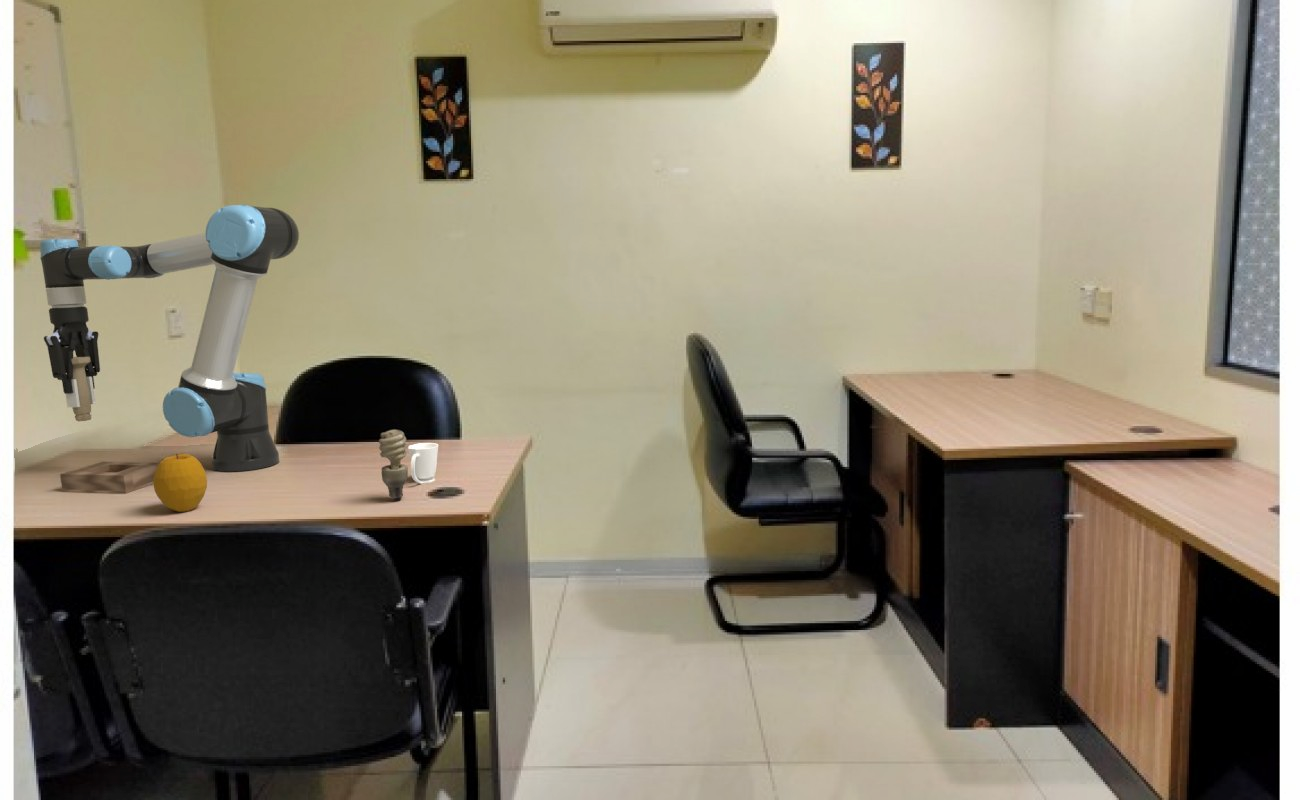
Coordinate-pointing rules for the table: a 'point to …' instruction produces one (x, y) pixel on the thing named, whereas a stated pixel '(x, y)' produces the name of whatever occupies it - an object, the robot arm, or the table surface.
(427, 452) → the cup
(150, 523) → the table surface
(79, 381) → the handle
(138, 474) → the slot block
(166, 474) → the apple
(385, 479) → the light bulb
